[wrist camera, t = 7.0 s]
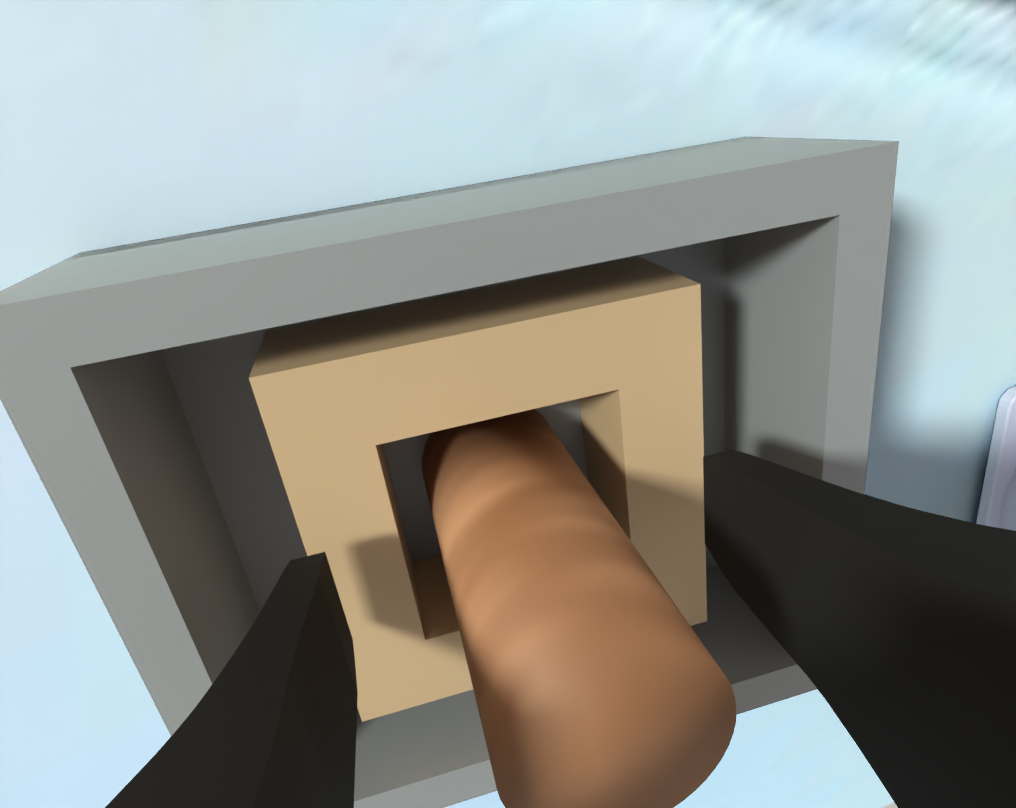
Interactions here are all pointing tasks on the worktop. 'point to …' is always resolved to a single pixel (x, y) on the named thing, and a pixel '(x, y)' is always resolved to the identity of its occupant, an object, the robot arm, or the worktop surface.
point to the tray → (211, 463)
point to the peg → (568, 629)
